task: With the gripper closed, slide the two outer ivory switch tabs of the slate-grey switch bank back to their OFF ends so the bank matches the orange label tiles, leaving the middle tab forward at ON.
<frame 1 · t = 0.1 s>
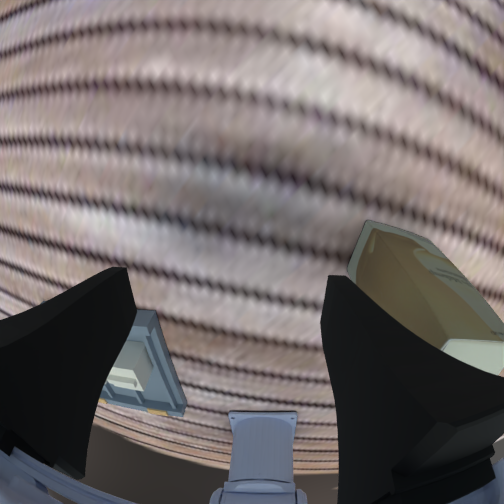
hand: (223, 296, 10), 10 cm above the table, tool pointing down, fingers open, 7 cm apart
skincare box: (387, 252, 20), on the table
tab a: (128, 367, 23), point 3 cm above the table, slide at 5.0 cm
tab b: (92, 361, 23), point 3 cm above the table, slide at 5.0 cm
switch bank: (113, 357, 27), on the table
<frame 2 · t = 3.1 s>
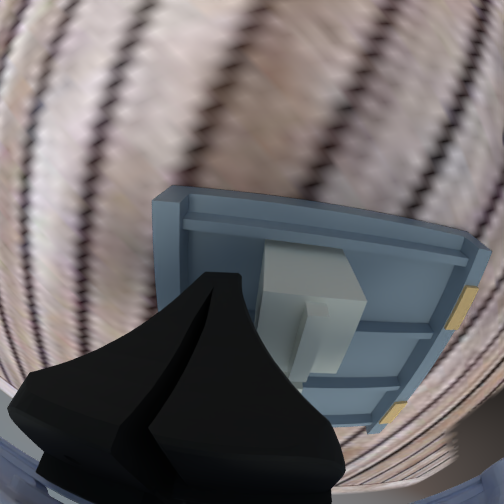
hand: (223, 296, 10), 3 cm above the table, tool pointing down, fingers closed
tab a: (301, 310, 10), point 3 cm above the table, slide at 4.0 cm, touching gripper
tab b: (258, 381, 11), point 3 cm above the table, slide at 5.0 cm
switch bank: (308, 339, 14), on the table
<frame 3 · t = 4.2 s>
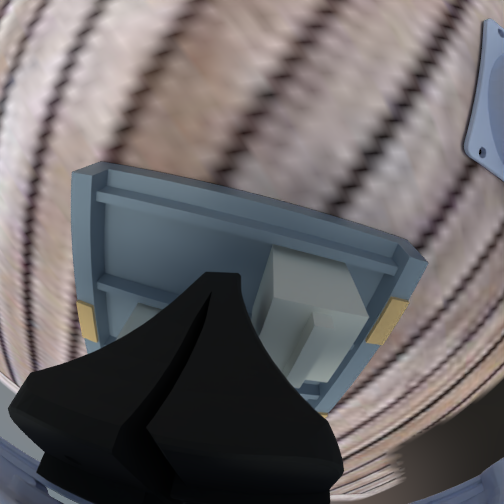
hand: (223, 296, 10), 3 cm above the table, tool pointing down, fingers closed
tab a: (301, 318, 10), point 3 cm above the table, slide at 0.0 cm, touching gripper
tab b: (157, 360, 11), point 3 cm above the table, slide at 5.0 cm
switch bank: (221, 329, 14), on the table
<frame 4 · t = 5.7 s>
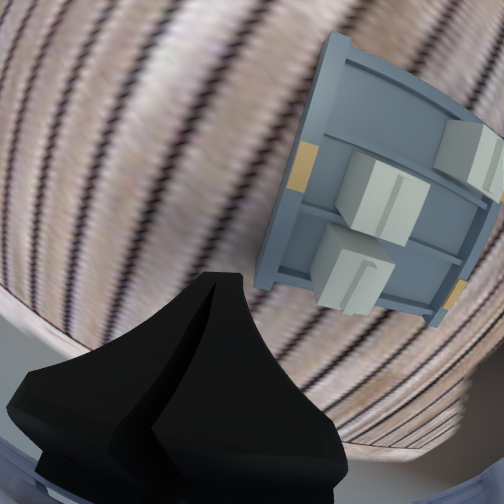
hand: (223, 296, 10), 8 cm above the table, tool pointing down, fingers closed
tab a: (477, 159, 11), point 3 cm above the table, slide at 0.0 cm
tab c: (349, 270, 14), point 3 cm above the table, slide at 5.0 cm
tab b: (381, 196, 13), point 3 cm above the table, slide at 5.0 cm
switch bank: (397, 196, 15), on the table
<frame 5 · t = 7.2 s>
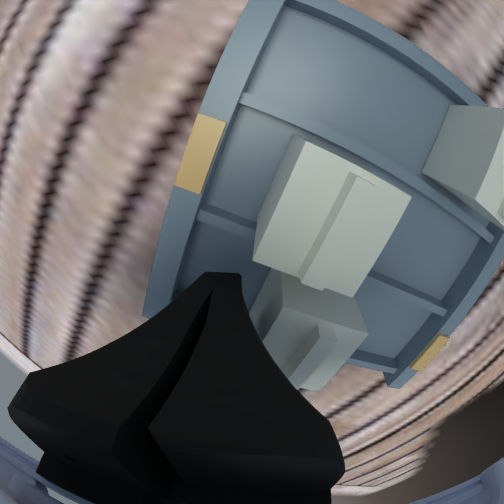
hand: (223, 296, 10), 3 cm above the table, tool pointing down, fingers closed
tab a: (491, 168, 7), point 3 cm above the table, slide at 0.0 cm
tab c: (300, 327, 10), point 3 cm above the table, slide at 3.7 cm, touching gripper
tab b: (324, 209, 8), point 3 cm above the table, slide at 5.0 cm
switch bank: (363, 210, 11), on the table
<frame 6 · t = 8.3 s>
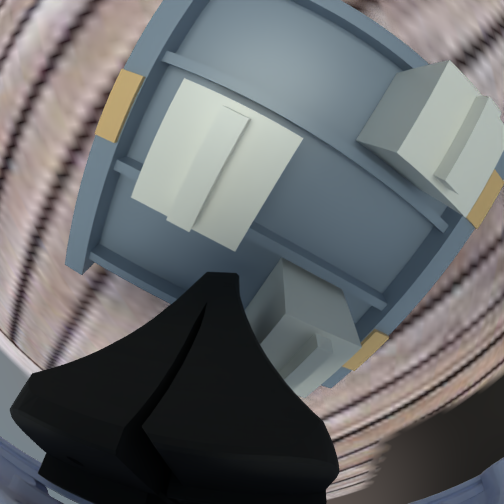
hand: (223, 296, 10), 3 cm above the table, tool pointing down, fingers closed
tab a: (436, 134, 7), point 3 cm above the table, slide at 0.0 cm
tab c: (294, 334, 10), point 3 cm above the table, slide at -0.1 cm, touching gripper
tab b: (219, 158, 8), point 3 cm above the table, slide at 5.0 cm
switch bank: (290, 179, 11), on the table
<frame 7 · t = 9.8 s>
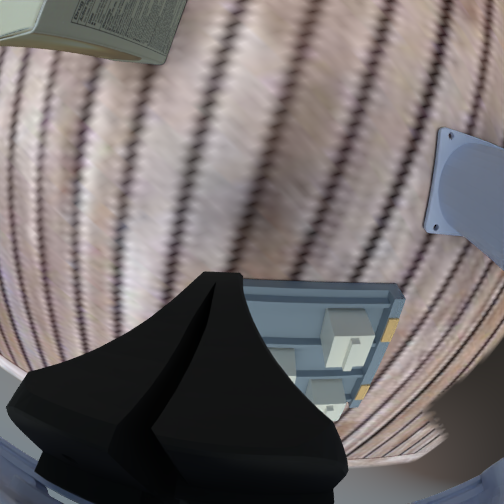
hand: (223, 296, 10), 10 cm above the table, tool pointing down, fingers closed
skincare box: (150, 26, 14), on the table
tab a: (346, 338, 20), point 3 cm above the table, slide at 0.0 cm
tab c: (324, 401, 23), point 3 cm above the table, slide at -0.1 cm
tab b: (274, 374, 22), point 3 cm above the table, slide at 5.0 cm
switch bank: (302, 348, 24), on the table
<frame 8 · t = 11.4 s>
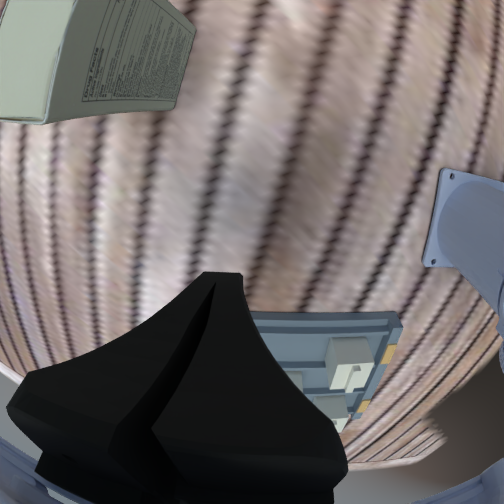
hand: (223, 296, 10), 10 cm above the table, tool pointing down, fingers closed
skincare box: (156, 67, 15), on the table
tab a: (348, 363, 21), point 3 cm above the table, slide at 0.0 cm
tab c: (329, 415, 25), point 3 cm above the table, slide at -0.1 cm
tab b: (283, 394, 23), point 3 cm above the table, slide at 5.0 cm
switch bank: (308, 369, 26), on the table
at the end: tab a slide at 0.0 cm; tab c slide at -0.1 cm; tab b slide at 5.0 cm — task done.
